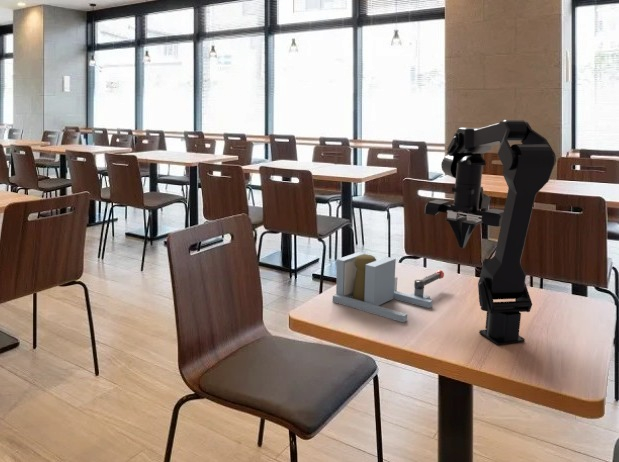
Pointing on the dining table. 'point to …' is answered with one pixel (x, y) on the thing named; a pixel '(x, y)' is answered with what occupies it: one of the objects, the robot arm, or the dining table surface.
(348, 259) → the vise bed
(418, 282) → the lock handle
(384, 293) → the block
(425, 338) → the dining table surface
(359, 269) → the cork
